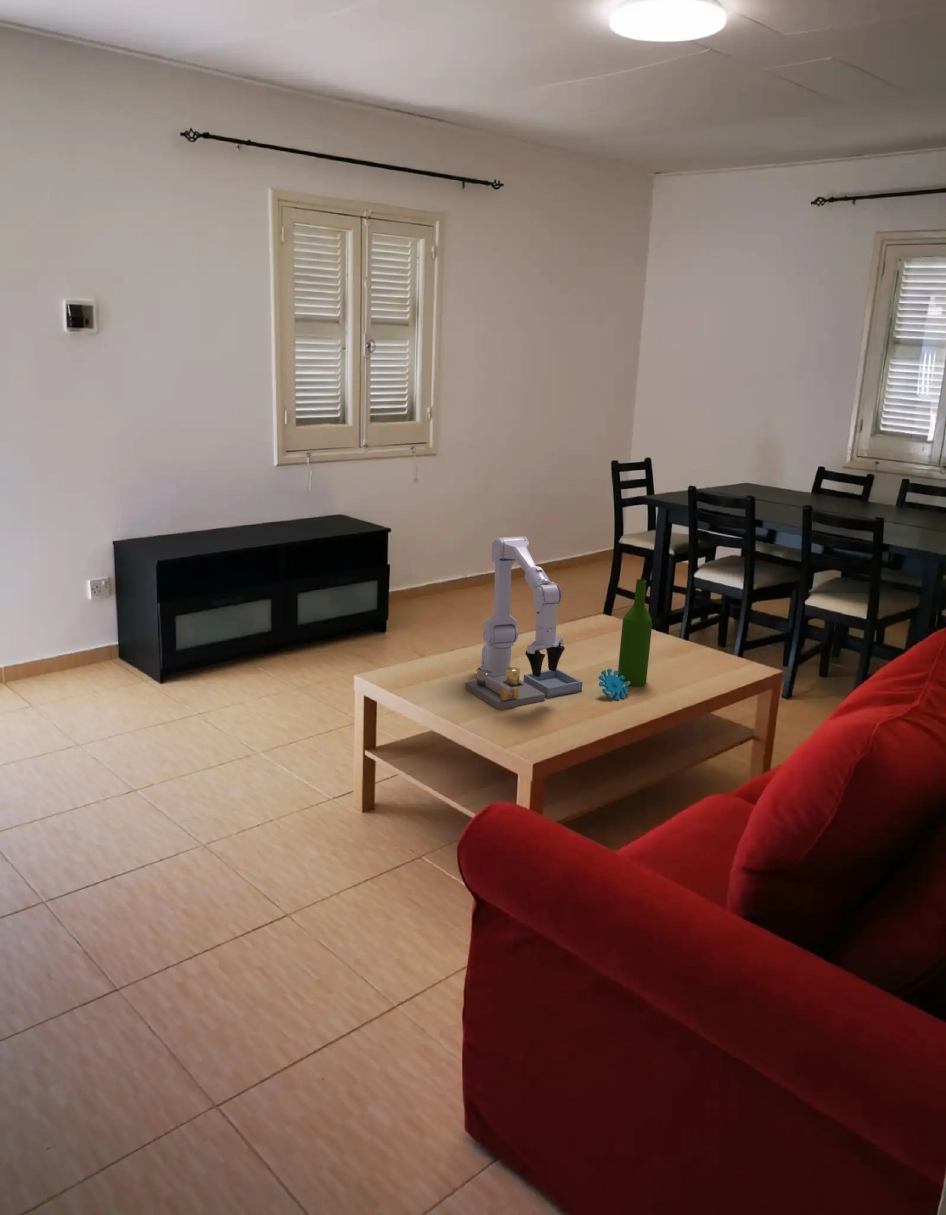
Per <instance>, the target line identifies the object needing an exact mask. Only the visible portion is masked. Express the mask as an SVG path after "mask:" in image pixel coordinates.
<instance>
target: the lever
mask: <svg viewBox="0 0 946 1215" xmlns="http://www.w3.org/2000/svg"><path fill="white" fill-rule="evenodd" d="M476 677H477V678H476V680H477V684H478V685H480V686H486V687H488V688H490V689H491V690H493V691H495V692H496V693H498V694H500V699H502V700H509V699H514V698H519V688H518V687H510V686H508V685H506V684H505V683H503V682H501V681H500V680H498V679H496V678H494V676H492V672H491V671H489V670H482V669H480V670H477V676H476Z"/></svg>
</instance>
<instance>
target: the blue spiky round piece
mask: <svg viewBox="0 0 946 1215" xmlns="http://www.w3.org/2000/svg"><path fill="white" fill-rule="evenodd" d="M600 673H601V674H600V675H599V676H598V678H597V679H598V680H599V681H600V682H598V686H599V687H601V688H602V687H604V688H602V690H601V691H602V694H607V693H608V692H609V694H608V695H607V697H608V698H609V699H613V698H614V700H616V701H619V700H620V699H624V698H626V694H627V693H628V692H629V689H628V688H627V687H629V686H628V685H629V684H630V681H627V682H622V681H620V680H623V679H625V678H624V676H623V675H621V676H620V677H617V676H618V674H619V672H618V669H615V670H614V671H613V669H612V668H608V669H607V670H606V669H604V670H602V671H601V672H600ZM611 673H613V674H611ZM614 694H615V697H614Z"/></svg>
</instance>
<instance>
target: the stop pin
mask: <svg viewBox="0 0 946 1215" xmlns="http://www.w3.org/2000/svg"><path fill="white" fill-rule="evenodd" d="M520 673H521V670H520V668H518V667H516V666H515V667H514V666H513V667H512V666H510V667H509V668H507V669H506V685H508V686H510V687H517V686H519V679H520Z"/></svg>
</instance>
